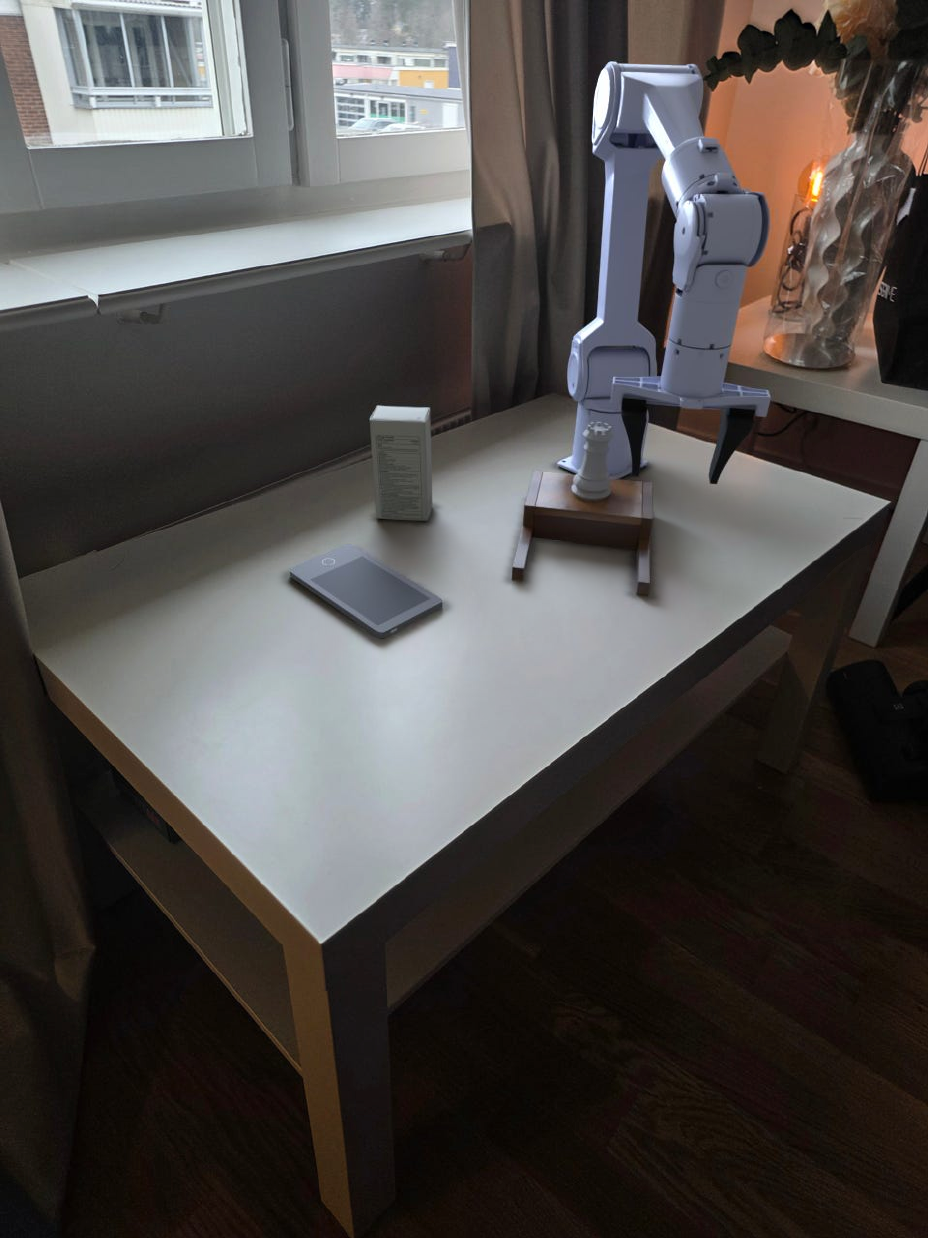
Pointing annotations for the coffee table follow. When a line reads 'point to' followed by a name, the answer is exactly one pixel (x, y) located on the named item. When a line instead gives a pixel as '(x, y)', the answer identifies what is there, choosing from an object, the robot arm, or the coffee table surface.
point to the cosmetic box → (402, 462)
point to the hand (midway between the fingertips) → (673, 475)
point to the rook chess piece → (594, 465)
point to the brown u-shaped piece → (588, 519)
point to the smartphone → (366, 590)
